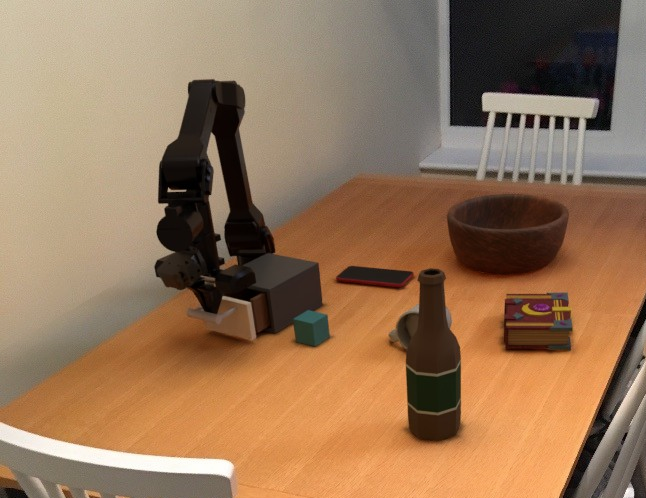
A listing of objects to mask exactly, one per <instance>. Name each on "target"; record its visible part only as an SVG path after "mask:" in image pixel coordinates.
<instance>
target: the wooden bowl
mask: <svg viewBox="0 0 646 498" xmlns="http://www.w3.org/2000/svg"><path fill="white" fill-rule="evenodd" d="M569 217H570V212H569V209H568V208H567V206H566V205H564V203H562V202H560V201H558V200H555V199H553V198H549V197H545V196H540V195H533V194H524V193H501V194H500V193H498V194H487V195H481V196H476V197H471V198H468V199H465V200H461V201H460V202H457V203H455V204H454V205H452V206H451V207H450V208H449V209H448V211H447V213H446V221H447V230H448V235H449V240H450V244H451V248H452V250H453V252H454V255H455V256H456V258H457V259H458V261H459V262H460V263H461V264H462V265H463V266H464V267H466V269H467V268H468V269H469V270H472V271H475V272H478V273H482V274H488V275H499V276H512V275H522V274H523V275H524V274H529V273H533V272H536V271H539V270H542V269H544V268H546V267H547V266H549V265H550V264H551V263H552V262H553V261H554V260H555V259H556V257H557V256H558V254H559V253H560V251H561V248H562V246H563V243H564V241H565V237H566V234H567V233H566V232H567V229H568V223H569Z"/></svg>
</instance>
